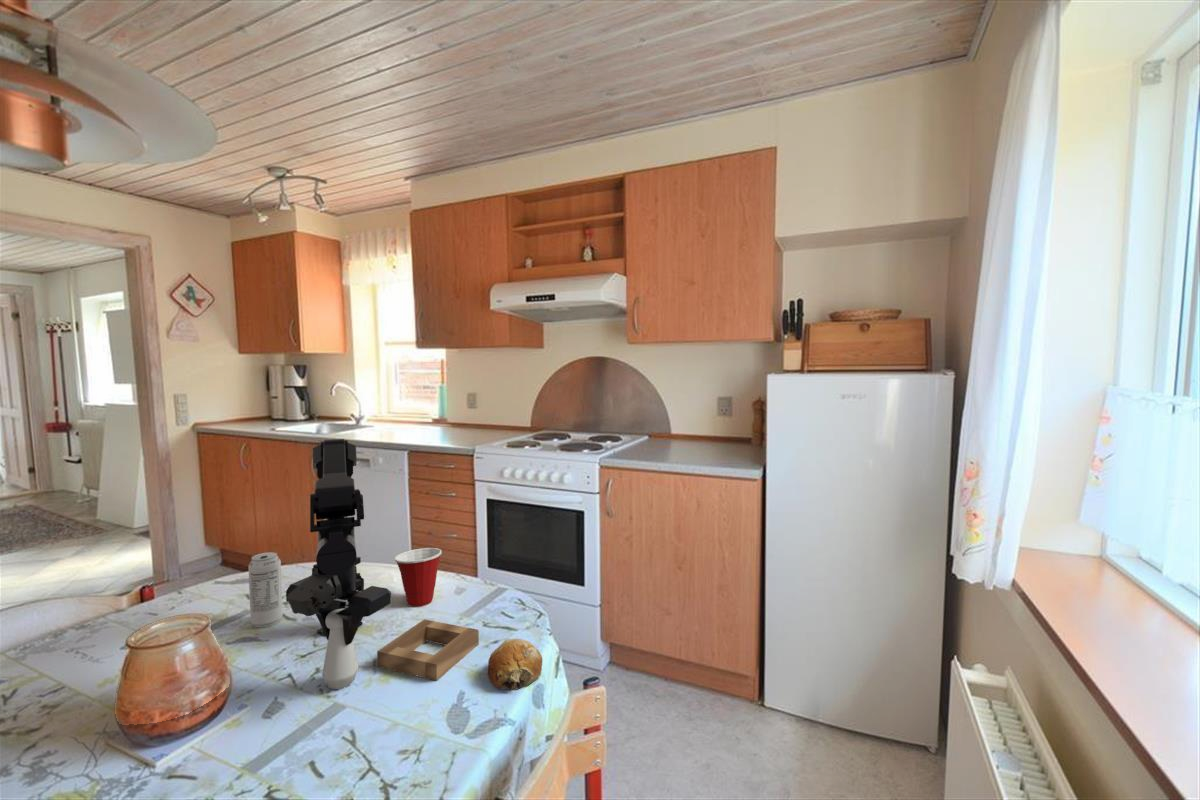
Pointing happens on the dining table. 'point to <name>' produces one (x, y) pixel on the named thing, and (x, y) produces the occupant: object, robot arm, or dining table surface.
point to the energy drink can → (265, 589)
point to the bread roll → (514, 664)
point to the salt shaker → (338, 655)
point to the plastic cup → (419, 574)
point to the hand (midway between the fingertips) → (339, 641)
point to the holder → (423, 664)
